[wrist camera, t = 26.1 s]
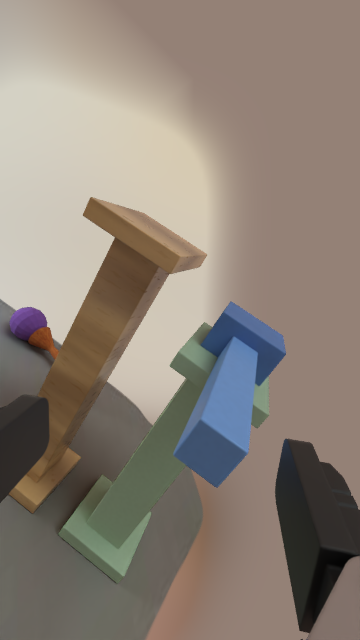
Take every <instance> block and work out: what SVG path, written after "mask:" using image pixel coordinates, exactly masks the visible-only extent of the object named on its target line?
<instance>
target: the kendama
mask: <svg viewBox="0 0 360 640" xmlns="http://www.w3.org/2000/svg"><path fill="white" fill-rule="evenodd" d="M10 328H11V331H12V332H13V333H14V334H15V335H16V337H18V338H20V339H22V340H29V341H28V342H29V343H30V344H31V345H34V346H36V347H39V348H42V349H44V350H47V351H49V352H50V353H51V355H52V356H53V358H54V359H56V357H57V355H58V353H59V351H58V350H57V349H56V348H55V347H54V344H53V339H52V335H51V330H50V328H49V327H47V321H46V317H45V316H44V314H43V313H42V312H41V311H40V310H37V309H35V308H32V307H27V308H21V309H19V310H17V311H16V312H15V313H14V314H13V315H12V317H11V320H10Z"/></svg>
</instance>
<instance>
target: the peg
mask: <svg viewBox="0 0 360 640" xmlns="http://www.w3.org/2000/svg"><path fill="white" fill-rule="evenodd" d="M201 346H202V347H203V348H205V349H206V350H208V351H209V352H211V353H212V354H213V355H215V356H216V357H218V358H217V361H216V363H215V365H214V367H213V369H212V371H211V373H210V376H209V378H208V380H207V382H206V384H205V386H204V388H203V391H202V393H201V395H200V397H199V399H198V401H197V403H196V406H195V408H194V410H193V412H192V414H191V416H190V418H189V421H188V423H187V425H186V427H185V429H184V431H183V433H182V436H181V438H180V440H179V442H178V444H177V446H176V448H175V451H174V453H173V455H174V456H175V457H176V458H177V459H179V460H180V461H181V462H183V463H184V464H185V465H187V466H188V467H189V468H191V469H192V470H193V471H195V472H196V473H197V474H199V475H200V476H201V477H203V478H204V479H205V480H206V481H208V482H209V483H210V484H212V485H213V486H214V487H218V486H219V485H220V484H221V483H222V482H223V481H224V480H225V479H226V478H227V476H228V475H229V474H230V473H231V472H232V471H233V470H234V468H235V467H236V466H237V465H238V464H239V463H240V462H241V461H242V460H243V458H244V457H245V456H246V455H247V454H248V450H249V439H250V429H251V419H252V408H253V398H254V388H255V384H257V385H258V386H261V384H262V383H263V382H264V381H265V379H266V378H267V377H268V376H269V375H270V373H271V372H272V371H273V369H274V368H275V367H276V366H277V365H278V364H279V362H280V361H281V360H282V359H283V357H284V356H285V355H286V351H285V345H284V339H283V336H282V335H281V334H279V333H278V332H277V331H275V330H273V329H272V328H271V327H269V326H268V325H266V324H265V323H263V322H261V321H260V320H259V319H257V318H255V317H254V316H253V315H251V314H250V313H248V312H247V311H245V310H243V309H242V308H240V307H239V306H237V305H236V304H235V303H233V302H230V303H229V305H228V306H227V307H226V309H225V310H224V311H223V313H222V314H221V316H220V317H219V319H218V320H217V322H216V323H215V324H214V326H213V327H212V329H211V330H210V332H209V333H208V335H207V336H206V338H205V339H204V341H203V342H202V343H201Z"/></svg>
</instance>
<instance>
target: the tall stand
mask: <svg viewBox="0 0 360 640" xmlns="http://www.w3.org/2000/svg"><path fill="white" fill-rule="evenodd" d="M83 216H84V217H86V218H87V219H89V220H90V221H92V222H93V223H95V224H96V225H98V226H99V227H101V228H102V229H104V230H105V231H107V232H108V233H110V234H111V235H112V236H114V237H115V239H114V241H113V243H112V245H111V247H110V249H109V251H108V253H107V255H106V257H105V259H104V261H103V263H102V266H101V267H100V270H99V271H98V273H97V275H96V278H95V280H94V282H93V284H92V286H91V288H90V290H89V292H88V294H87V296H86V298H85V300H84V302H83V304H82V306H81V308H80V310H79V312H78V314H77V316H76V318H75V320H74V323H73V324H72V327H71V329H70V331H69V333H68V335H67V337H66V339H65V341H64V343H63V345H62V347H61V349H60V351H59V353H58V355H57V357H56V359H55V361H54V363H53V365H52V367H51V369H50V371H49V373H48V375H47V377H46V379H45V382H44V384H43V386H42V388H41V390H40V392H39V394H38V397H44V398H46V399H47V400H48V403H49V435H50V437H49V443H48V447H47V449H46V451H45V453H44V455H43V456H42V457H41V458H40V459H39V461H38V462H37V463H36V464H35V465H34V466H33V467H32V468H31V469H30V471H29V472H28V473H27V474H26V475H25V476H24V477H23V478H22V479H21V480H20V482H19V483H18V484H17V485H16V486H15V487H14V488H13V489H12V490H11V492H10V493H9V495H11V496H12V497H13V498H14V499H15V500H17V501H18V502H19V503H20V504H21V505H23V506H24V507H25V508H26V509H27V510H29V511H30V512H31V513H32V514H33V513H34V512H35V511H36V510H37V508H38V507H39V506H40V505H41V504H42V503H43V502H44V501H45V499H46V498H47V497H48V496H49V495H50V494H51V493H52V492H53V490H54V489H55V488H56V487H57V486H58V485H59V484H60V483H61V482H62V480H63V479H64V478H65V477H66V476H67V475H68V474H69V473H70V471H71V470H72V469H73V468H74V467H75V466H76V465H77V463H78V461H79V460H80V458H81V457H80V456H79V455H77V454H76V453H75V452H73V451H72V450H71V449H70V448H68V447H69V445H70V443H71V442H72V440H73V438H74V436H75V435H76V433H77V431H78V430H79V428H80V426H81V424H82V423H83V421H84V419H85V418H86V416H87V414H88V412H89V411H90V409H91V407H92V406H93V404H94V402H95V400H96V399H97V397H98V395H99V394H100V392H101V390H102V388H103V387H104V385H105V383H106V382H107V380H108V378H109V376H110V375H111V373H112V371H113V369H114V368H115V366H116V364H117V363H118V361H119V359H120V357H121V356H122V354H123V352H124V351H125V349H126V347H127V346H128V344H129V342H130V340H131V339H132V337H133V335H134V333H135V332H136V330H137V328H138V327H139V325H140V323H141V322H142V320H143V318H144V316H145V315H146V313H147V311H148V309H149V308H150V306H151V304H152V303H153V301H154V299H155V298H156V296H157V294H158V292H159V291H160V289H161V287H162V285H163V284H164V282H165V280H166V279H167V277H168V275H169V274H173V273H177V272H181V271H185V270H190V269H194V268H198V267H200V266H201V264H202V263H203V261H204V259H205V258H206V256H207V254H206V253H204V252H203V251H201V250H200V249H198V248H197V247H195V246H193V245H192V244H190V243H189V242H187V241H186V240H184V239H183V238H181V237H180V236H178V235H177V234H175V233H174V232H172V231H171V230H169V229H167V228H166V227H164V226H163V225H161V224H160V223H158V222H157V221H155V220H154V219H152V218H151V217H149V216H147V215H146V214H144V213H142V212H139V211H135V210H132V209H129V208H125V207H122V206H119V205H115V204H112V203H109V202H106V201H102V200H99V199H96V198H93V197H91V198H90V200H89V202H88V204H87V207H86V209H85V211H84V213H83Z"/></svg>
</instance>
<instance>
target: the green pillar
mask: <svg viewBox="0 0 360 640" xmlns="http://www.w3.org/2000/svg"><path fill="white" fill-rule="evenodd" d="M211 329H212V327H211V326H210V325H208V324H207V323H205V322H204V323H203V324H202V325H201V327H200V328H199V329H198V330H197V332H195V334H194V335H193V336H192V337H191V338H190V339H189V340H188V342H187V343H186V344H185V345H184V346H183V347H182V348H181V349H180V351H179V352H178V353H177V355H176V356H175V358H174V359H173V361H172V362H171V364H170V367H171V368H173V369H174V370H175V371H177V372H178V373H180V374H181V375H183V376H184V377H185V378H186V379H185V381H184V382H183V383H182V385H181V386H180V388H179V389H178V391H177V392H176V393H175V395H174V396H173V398H172V399H171V401H170V402H169V404H168V405H167V406H166V408H165V409H164V411H163V412H162V413H161V415H160V416H159V418H158V419H157V421H156V422H155V424H154V425H153V426H152V428H151V429H150V431H149V432H148V433H147V435H146V436H145V438H144V439H143V441H142V442H141V444H140V445H139V446H138V448H137V449H136V451H135V452H134V454H133V455H132V456H131V458H130V459H129V461H128V462H127V464H126V465H125V466H124V468H123V469H122V471H121V472H120V474H119V475H118V476H117V478H116V479H115V481H114V482H112V481H110V480H109V479H108V478H107V477H105V476H104V475H103V474H102V475H101V476H100V478H99V479H98V480H97V482H96V483H95V484H94V486H93V487H92V489H91V490H90V491H89V493H88V494H87V495H86V497H85V498H84V499H83V501H82V502H81V503H80V505H79V506H78V507H77V509H76V510H75V512H74V513H73V514H72V516H71V517H70V518H69V520H68V521H67V522H66V524H65V525H64V526H63V528H62V529H61V531H60V532H59V534H58V535H59V536H60V537H61V538H63V539H64V540H65V541H66V542H68V543H69V544H70V545H71V546H72V547H74V548H75V549H76V550H77V551H78V552H80V553H81V554H82V555H83V556H84V557H86V558H87V559H88V560H89V561H91V562H92V563H93V564H94V565H95V566H97V567H98V568H99V569H100V570H101V571H103V572H104V573H105V574H106V575H107V576H109V577H110V578H111V579H112V580H114V581H115V582H116V583H117V584H118V583H119V582H120V581H121V580H122V579H123V577H124V576H125V574H126V571H127V569H128V567H129V564H130V562H131V560H132V558H133V555H134V553H135V551H136V549H137V546H138V544H139V542H140V539H141V537H142V535H143V533H144V530H145V528H146V526H147V523H148V521H149V519H150V517H151V514H152V513H151V512H150V510H151V509H152V507H153V506H154V505H155V504H156V502H157V501H158V500H159V499H160V497H161V496H162V495H163V494H164V492H165V491H166V490H167V489H168V487H169V486H170V485H171V484H172V482H173V481H174V480H175V479H176V477H177V476H178V475H179V474H180V472H181V471H182V470H183V469H184V467H185V466H186V465H185V464H184V463H183V462H181V461H180V460H179V459H177V458H176V457H175V456H174V455H173V453H174V451H175V448H176V446H177V444H178V442H179V440H180V438H181V436H182V433H183V431H184V429H185V427H186V425H187V423H188V421H189V418H190V416H191V414H192V412H193V410H194V408H195V406H196V403H197V401H198V399H199V397H200V395H201V393H202V391H203V388H204V386H205V384H206V382H207V380H208V378H209V376H210V373H211V371H212V369H213V367H214V365H215V363H216V361H217V358H218V357H216V356H215V355H213V354H212V353H211V352H209V351H208V350H206V349H205V348H203V347H202V346H201V343H202V342H203V341H204V339H205V338H206V336H207V335H208V333H209V332H210V330H211ZM268 416H269V376H268V377H267V378H266V379H265V381H264V382H263V383H262V384H261V386H258V385H257V384H255V388H254V398H253V408H252V419H251V425H253V426H254V427H255V428H258V427H259V426H260V425H261V424H262V422H264V420H265V419H266V418H267V417H268Z"/></svg>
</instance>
